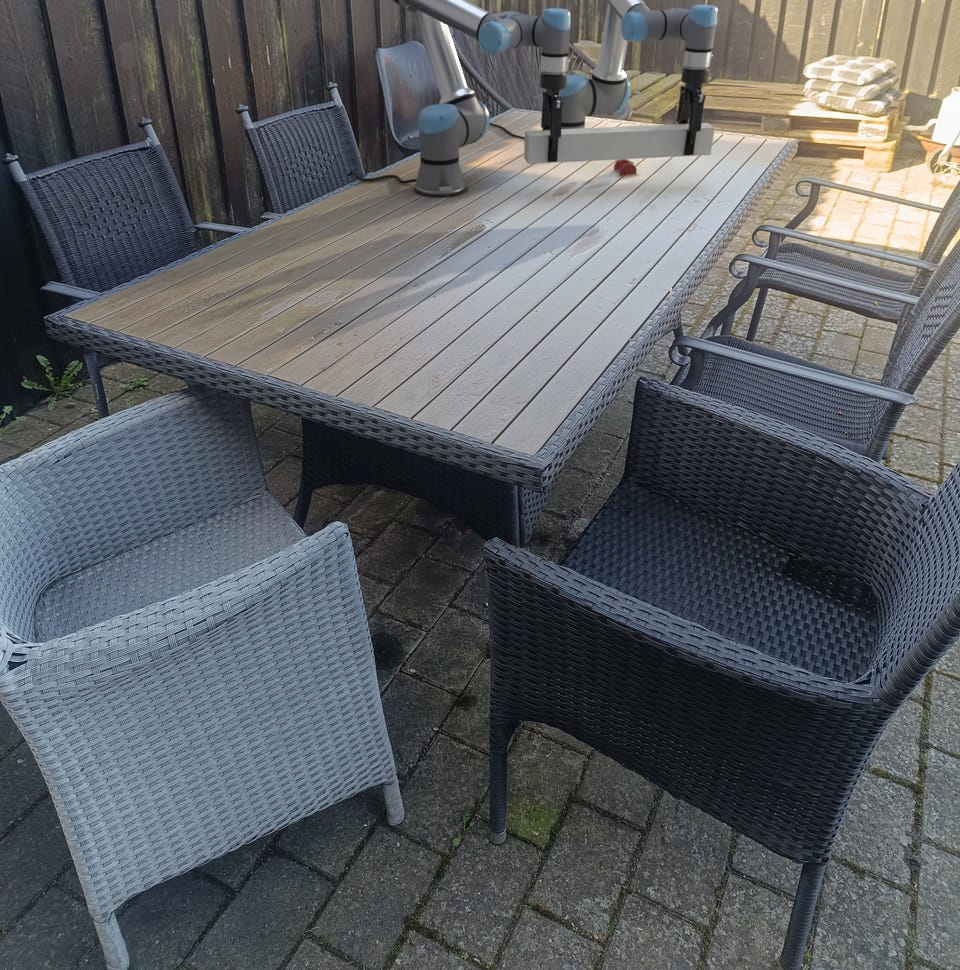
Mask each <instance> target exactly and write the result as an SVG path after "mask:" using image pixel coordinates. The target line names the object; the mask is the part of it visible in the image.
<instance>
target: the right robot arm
mask: <svg viewBox="0 0 960 970" xmlns="http://www.w3.org/2000/svg"><path fill="white" fill-rule="evenodd" d="M605 1H606V2H607V4H606V10H605V16H604V17H605V18H604V24H603V30H602V37H601V43H600V48H599V49H600V50H599V56H598V62H597V66H596V67H595V68H594V69H593V70H592V73H591V77H590V78H588V76H587V75H585V74H569V75H568V74H567V86H566V88H564V89H561V90H560V91H559V92H560V96H561V100H563V107H562V124H561V129H581V128H586V117H593V116H595V117H596V116H612V115H615V114H620V113H621V112H622V111H624V110H625V108H626V107H627V106H628V104H629V101H630V97H631V89H630V88H631V83H630V81H629V79H628V78H627V73H626V71H624V66H625V61H626V60H625V59H626V55H627V49H628V43H629V42H630V43H631V42H633V43H641V42H652V41H670V40H673V41H674V40H681V41H685V48H684V55H683V62H682V65H683V68H682V72H681V78H680V79H681V80H680V81H681V82H682V83H684V84H685V85H681V86H680V88H679V101H678V106H677V113H676V119H675V120H676V122H677V124H689V130H687V131H686V132H687V135H686V142H685V149H684V155H693V153H694V146H695V139H696V133H697V132H698V131H700V130H701V123H703V122H702V121H703V114H704V106H705V102H706V97H707V96H706V94H703V88H702V87H703V85H705V84H707V83H708V82H709V75H710V69H709V67H710V66H711V61H712V58H713V57H714V55H713V54H712V53H713V47H714V42H715V35H716V30H717V24H718V12H719V11H718V7H717V6H716V5H714V4H693V5H692V6H691V8H690V9H686V8H685V7H673V8H671V9H665V10H664V9H663V10H662V9H660V10H659V9H658V10H650V8H649V7H648V6H647V5H646V3H645V2H644V0H605ZM489 126H492V127H496V128H499V129H501V130H503V131H504V132H505V133H507V134H508V135H510V136H511V137H513V138H518V139H522V140H525V136H521V135H518V134H515V133H513V132H511V131H510V130H508V129H506V128H505V127H503V126H502V125H499V124H497V123H492V122H490V123H489Z"/></svg>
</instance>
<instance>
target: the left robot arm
mask: <svg viewBox="0 0 960 970" xmlns="http://www.w3.org/2000/svg"><path fill="white" fill-rule="evenodd" d="M391 1H392V2H394V3H396V4H397V5H399V6H401V7H403V8H405V10H406V11H408V12H410V13H412V15H413V18H414V21H415V24H416V27H417V29H418V33H419V35H420V39H421V42H422V44H423V47H424V51H425V54H426V57H427V59H428V62H429V66H430V69H431V72H432V75H433V77H434V79H435V83H436V87H437V89H438V92H439V96H440V100H439V103H436V104H431V105H428V106H426V107H424V108H422V109H421V110H420V112H419V114H418V126H417V127H418V134H419V135H418V136H419V138H418V139H419V157H420V158H419V159H420V161H419V162H420V164H419V168H418V172H417V176H416V178H410V179H406V180H403V179H402V178H401V177H400V176H399V175H396V174H385V175H379V176H377V177H371V178H370V177H369V178H364V177H361V176H360V175H358V174H357V172H355V171H349V172H348V173H347V177H351V176H354V177H355V178H356V179H357V180H358V181H361V182H375V181H379V180H383V179H397V181H398V182H399V183H400V184H411V183H415V185H414V186H415V192H417V193H418V194H420V195H424V196H430V197H450V196H455V195H459V194H461V193H463V192H464V191H466V181H465V179H464V176H463V172H462V169H461V165H460V148H463V147H466V146H468V145H473V144H475V143H477V142H478V141H480V140H481V139H482V138H484V137H485V136H486V135H487V133H488V130H489V128H490V125H489V123H491V119H490V118H491V117H490V113H489V110H488V108H487V106H486V105H485V104H484V103H482V101H480V100H478V99H477V96H476V92H475V91H474V90H473V89H472V88H469V87H468V84H467V81H466V78H465V74H464V72H463V69H462V65H461V63H460V60H459V56H458V53H457V50H456V47H455V44H454V41H453V38H452V34H451V31H450V28H451V29H453V30H455V31H458V32H459V33H461V34H463V35H465V36H467V37H469V38H471V39H472V40H474V41H476V42H478V43H479V46H480V47H481V48H482V51H484V52H486V53H488V54H501V53H503V52H506V51H509V50H513V49H518V48H521V47H534V48H540V51H541V52H540V53H541V54H540V67H539V68H540V69H539V70H540V71H541V73H540V75H539V76H540V77H539V87H540V88H541V89H543V91H542V105H541V121H540V128H542V129H541V130H550V136H548V137H547V138H548V139H549V142H548V162H557V155H558V138H561V124H562V107H563V100H561V96H560V92H559V91H560V90H561V89H564V88H566V86H567V76H568V74H567V71H568V65H569V64H568V63H570V61H571V60H570V58H569V47H570V34H571V29H572V28H571V12H570V10H568V9H566V8H559V7H558V8H555V7H553V8H551V7H550V8H545V9H544V10H543V12H542V15H529V14H522V13H509V14H507V15H506V16H505V17H504V18H501V17H499V16H496V15H495V14H493V13H491V12H489V11H487V10H485V9H483V8H482V7H479V6H477V5H476V4H474V3H472V2H470V1H468V0H391ZM449 27H450V28H449ZM544 90H545V91H544Z"/></svg>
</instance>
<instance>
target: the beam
mask: <svg viewBox="0 0 960 970" xmlns="http://www.w3.org/2000/svg"><path fill="white" fill-rule="evenodd" d="M715 129H716V128H715V127H714V126H713V125H712V124H710V123H708V122H702V123H701V130H700V131H698V132H697V133H696V139H695V146H694V153H693V155H684V149H685V142H686V135H687V132H686V131H687V130H689V124H678V123H674V124H651V125H631V126H630V125H629V126H627V125H626V126H610V127H609V126H608V127H607V126H606V127H605V126H604V127H585V128H581V129H561V138H558V155H557V162H548V142H549V139H548V138H547V137H548V136H550V130H542V129H539V130H524V137H525V139H524V147H523V156H524V157H523V159H524V160H525V162H526V163H527V164H528V165H532V164H533V165H536V164H554V163H555V164H557V163H558V164H559V163H575V162H596V161H597V162H598V161H615V160H616V161H618V160H620V159H627V160H636V159H655V158H676V157H679V158H680V157H697V156H711V155H712V148H713V142H714V135H715Z"/></svg>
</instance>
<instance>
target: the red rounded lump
mask: <svg viewBox="0 0 960 970" xmlns="http://www.w3.org/2000/svg"><path fill="white" fill-rule="evenodd" d="M615 171H616V172H617V171H619V172H618V174H619V176H631V175H637V173H638V172H637V166H636V165H635V162H634V161H631V160H630V159H618V160H616V161H615V163H614V165H613V172H615Z"/></svg>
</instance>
